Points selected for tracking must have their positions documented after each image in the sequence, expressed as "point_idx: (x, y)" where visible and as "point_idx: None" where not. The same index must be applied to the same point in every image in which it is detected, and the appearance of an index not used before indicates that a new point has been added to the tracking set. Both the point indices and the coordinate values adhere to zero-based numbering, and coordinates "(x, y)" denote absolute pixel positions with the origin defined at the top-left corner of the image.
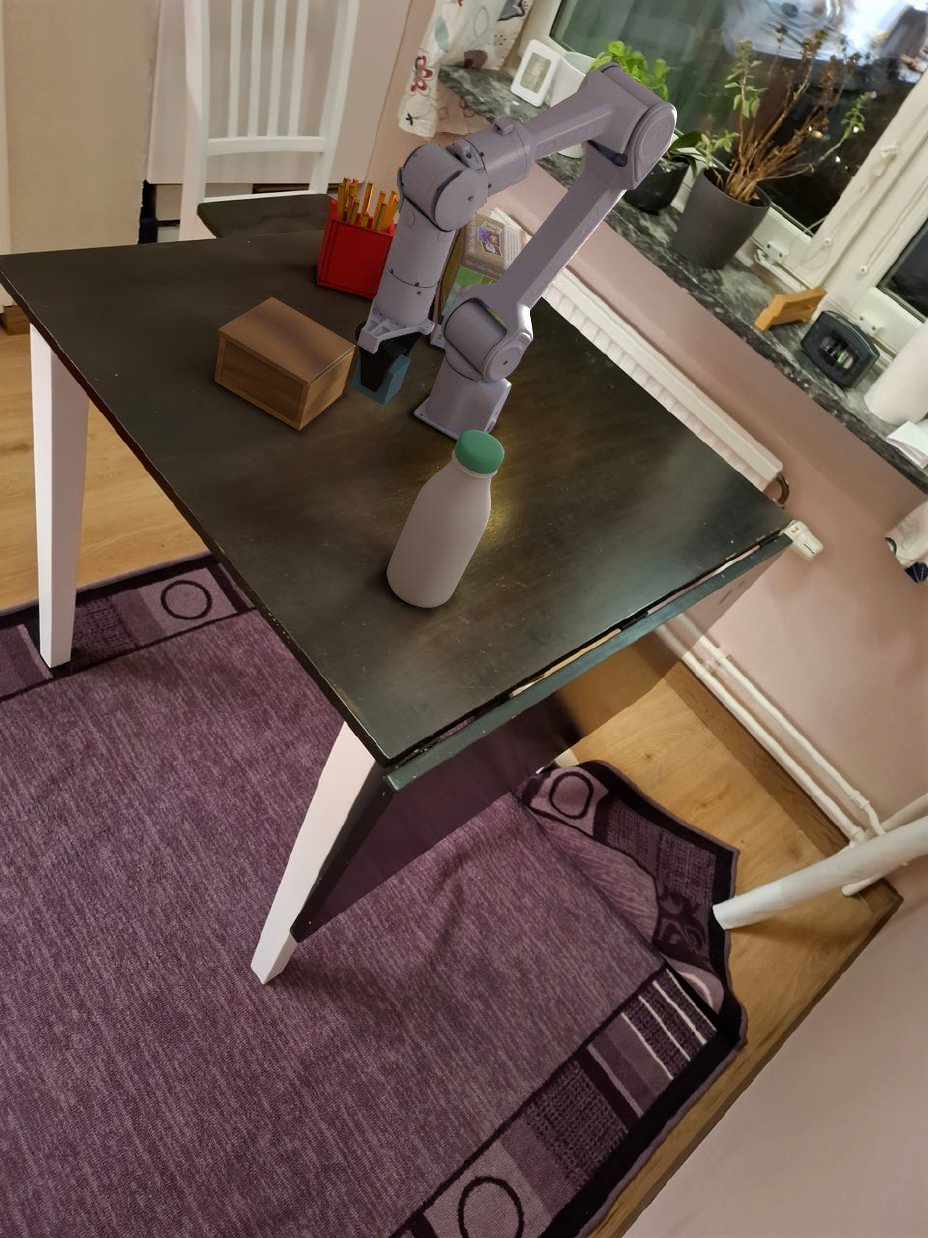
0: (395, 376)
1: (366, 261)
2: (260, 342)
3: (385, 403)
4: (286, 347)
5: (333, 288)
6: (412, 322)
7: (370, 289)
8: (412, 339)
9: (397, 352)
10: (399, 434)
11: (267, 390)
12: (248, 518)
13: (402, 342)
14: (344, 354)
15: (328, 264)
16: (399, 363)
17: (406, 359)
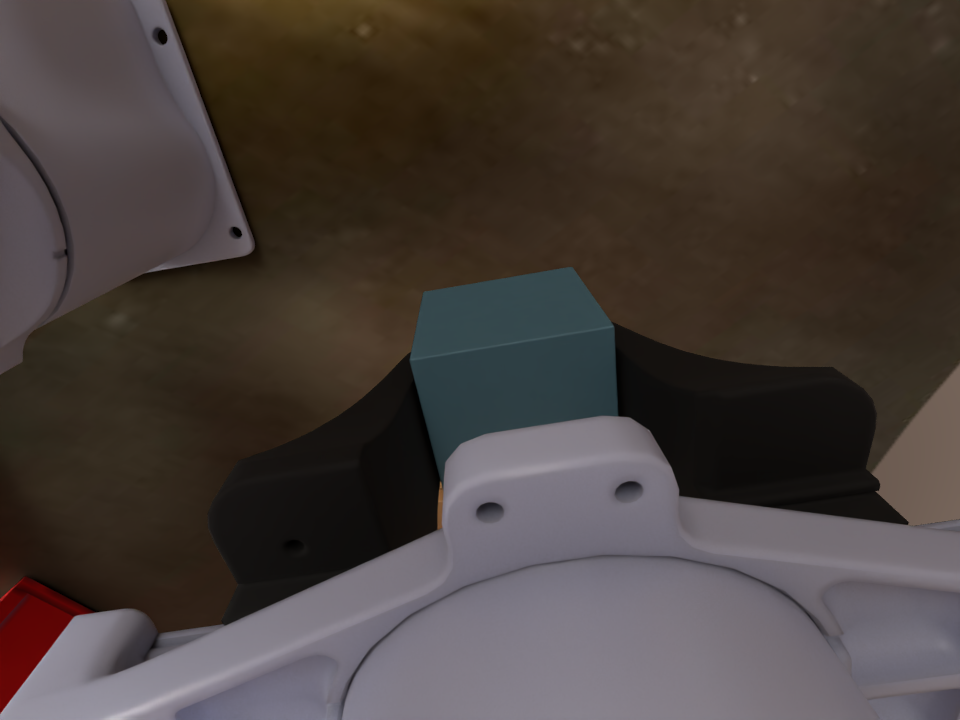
0: (565, 319)
1: (3, 693)
2: None
3: (556, 269)
4: None
5: None
6: (774, 609)
7: (31, 608)
8: (396, 446)
9: (828, 401)
10: (363, 219)
11: None
12: (951, 243)
13: (415, 455)
14: (439, 499)
15: None
16: (501, 365)
17: (433, 367)
